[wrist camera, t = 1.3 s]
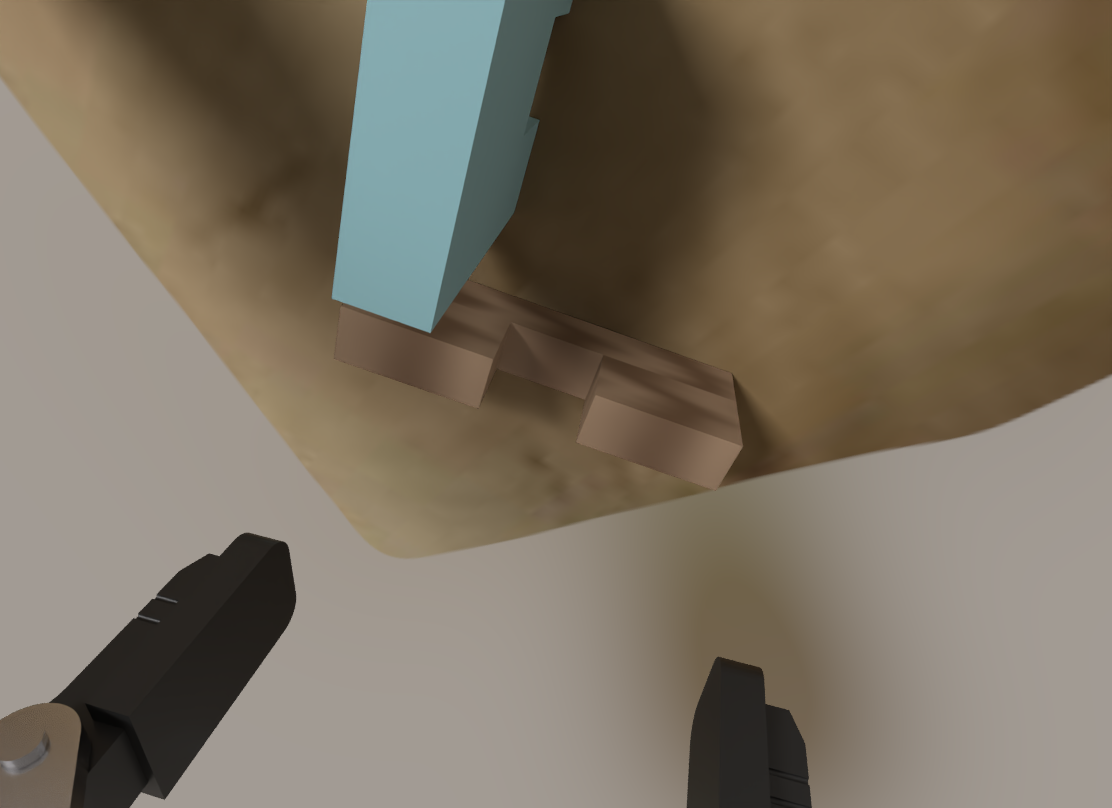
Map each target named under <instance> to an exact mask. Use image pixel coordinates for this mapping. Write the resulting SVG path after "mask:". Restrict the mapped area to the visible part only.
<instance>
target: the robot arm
mask: <svg viewBox="0 0 1112 808" xmlns="http://www.w3.org/2000/svg"><path fill="white" fill-rule="evenodd" d="M295 604H296V591H295V585H294V578H293V572H292V566H291V559H290V553H289V548H288V545H287V544H286V543H285V542H282V541H278V540H275V539H271V538H267V537H263V536H259V535H255V534H251V533H244V534H241V535H240V536H239V537H237V538H236V539H235V540H234V541H233V542H232V543H231V544H230V545H229V547H228V548H227V549H226V550H225V551H224V552H223V553H222V554H221V555H220V556H216V555H213V554H207V555H206V556H204V557H202V558H201V559H199V560H197V561H196V562H194V563H192V564H190V565H189V566H187V567H186V568H184V569H182V570H181V571H179V572H178V573H177V574H176V575H175V576H174V577H173V578H172V579H171V580H170V581H169V582H168V583H167V584H166V585H165V586H164V587H163V588H162V590H160V592H159V593H158V594H157V597H156V598H155V599H152V600H151V601H150V602H149V603H148V604H147V605H146V606H145V607H144V608H143V609H142V610H141V611H140V612H139V613H138V617H137V618H136V619H134V618H133V619H132V621H131V622H129V624H128V625H127V626H126V627H125V628H124V629H123V630H122V631H121V632H120V633H119V634H118V635H117V636H116V637H115V638H114V639H113V640H112V641H111V642H110V643H109V644H108V645H107V646H106V647H105V648H104V649H103V651H101V652H100V654H98V656H97V657H96V658H95V659H94V660H93V661H92V662H91V663H90V664H89V665H88V666H87V667H86V668H85V669H84V670H83V671H82V672H81V673H80V674H79V675H78V676H77V677H76V678H75V679H74V680H73V681H72V682H71V683H70V684H69V686H68V687H67V688H66V689H64V690H63V691H62V692H61V693H60V694H59V695H58V696H57V697H56V698H54V699H53V700H52V701H51V702H49V703H42V704H37V705H32V706H29V707H26V708H23V709H20V710H18V711H16V712H13V713H11V714H10V715H8V716H6V717H4V718H2V719H1V720H0V808H129V807H130V806H131V805H132V804H133V802H134V801H135V799H136V798H137V797H138V795H139V794H140V793H141V792H143V793H146V794H149V795H152V796H155V797H158V798H161V799H165V798H166V797H167V796H168V794H169V793H170V791H171V790H172V789H173V787H174V786H175V784H176V783H177V782H178V780H179V779H180V777H181V776H182V775H183V773H184V772H185V770H186V769H187V767H188V766H189V765H190V763H191V762H192V760H193V759H194V758H195V756H196V755H197V753H198V752H199V751H200V749H201V748H202V746H203V745H204V744H205V742H206V740H207V739H208V738H209V736H210V735H211V734H212V732H213V731H214V729H215V728H216V727H217V725H218V724H219V722H220V721H221V720H222V718H223V717H224V715H225V714H226V712H227V711H228V710H229V708H230V707H231V705H232V704H233V703H234V701H235V700H236V698H237V697H238V696H239V694H240V693H241V691H242V690H243V688H244V687H245V686H246V684H247V683H248V681H249V680H250V678H251V677H252V676H253V674H254V673H255V671H256V670H257V669H258V667H259V666H260V665H261V663H262V662H263V660H264V659H265V657H266V656H267V655H268V653H269V652H270V650H271V649H272V648H273V646H274V645H275V643H276V642H277V640H278V639H279V638H280V636H281V635H282V633H283V632H284V631H285V629H286V628H287V626H288V624H289V622H290V620H291V618H292V615H293V612H294V609H295ZM808 779H809V776H808V767H807V757H806V748H805V743H804V740H803V738H802V736H801V734H800V732H799V730H798V728H797V726H796V724H795V722H794V719H793V717H792V715H791V713H790V711H789V710H786V709H782V708H778V707H774V706H771V705H767V704H765V688H764V675H763V671H762V669H761V668H759V667H756V666H752V665H748V664H744V663H740V662H736V661H733V660H729V659H725V658H721V657H717V658H716V659H715V661H714V664H713V666H712V669H711V671H710V674H709V676H708V679H707V682H706V684H705V687H704V689H703V692H702V695H701V697H700V699H699V702H698V705H697V708H696V711H695V715H694V720H693V725H692V731H691V740H690V758H689V775H688V794H687V808H812V806H811V796H810V787H809V785H808Z"/></svg>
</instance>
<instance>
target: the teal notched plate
mask: <svg viewBox="0 0 1112 808" xmlns="http://www.w3.org/2000/svg"><path fill="white" fill-rule="evenodd" d="M572 1H573V0H367V7H366V16H365V24H364V32H363V41H362V49H361V57H360V66H359V74H358V82H357V91H356V99H355V108H354V116H353V124H352V133H351V141H350V149H349V158H348V166H347V174H346V183H345V191H344V199H343V208H342V216H341V224H340V233H339V241H338V249H337V258H336V266H335V275H334V283H333V291H332V299H334V300H337V301H340V302H343V303H346V304H349V305H352V306H354V307H357V308H360V309H363V310H366V311H369V312H372V313H375V314H377V315H380V316H383V317H386V318H389V319H392V320H395V321H397V322H400V323H403V324H406V325H409V326H412V327H415V328H417V329H420V330H423V331H426V332H429V333H431V332H432V330H433V329H434V327H435V326H436V324H437V323H438V321H439V320H440V319H441V317H442V316H443V314H444V313H445V311H446V310H447V309H448V307H449V306H450V304H451V303H452V301H453V300H454V298H455V297H456V296H457V294H458V293H459V291H460V290H461V288H462V287H463V285H464V284H465V283H466V281H467V280H468V278H469V277H470V275H471V274H472V273H473V271H474V270H475V268H476V267H477V265H478V264H479V262H480V261H481V260H482V258H483V257H484V255H485V254H486V252H487V251H488V250H489V248H490V247H491V245H492V244H493V242H494V241H495V239H496V238H497V237H498V235H499V234H500V232H501V231H502V229H503V228H504V227H505V225H506V224H507V222H508V221H509V219H510V218H511V216H512V215H513V214H514V211H515V208H516V204H517V200H518V197H519V193H520V190H521V186H522V182H523V179H524V175H525V171H526V168H527V164H528V161H529V157H530V153H531V150H532V146H533V142H534V139H535V135H536V132H537V128H538V124H539V121H540V120H538V119H535V118H532V117H530V116H529V115H530V111H531V107H532V103H533V99H534V96H535V92H536V88H537V84H538V81H539V77H540V73H541V69H542V66H543V62H544V58H545V54H546V51H547V47H548V43H549V39H550V36H551V32H552V28H553V24H554V21H555V17H558V16H561V15H565V14H568V13H569V12H570V8H571V5H572Z"/></svg>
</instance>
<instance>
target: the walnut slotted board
mask: <svg viewBox="0 0 1112 808" xmlns="http://www.w3.org/2000/svg"><path fill="white" fill-rule="evenodd" d="M334 359H336V360H339V361H342V362H344V363H347V364H350V365H353V366H356V367H359V368H362V369H365V370H368V371H371V372H373V373H376V374H379V375H382V376H385V377H388V378H391V379H394V380H397V381H399V382H402V383H405V384H408V385H411V386H414V387H417V388H420V389H423V390H425V391H428V392H431V393H434V394H437V395H440V396H443V397H446V398H449V399H452V400H454V401H457V402H460V403H463V404H466V405H469V406H472V407H475V408H478V409H479V407H480V404H481V402H482V400H483V398H484V396H485V393H486V391H487V389H488V387H489V385H490V383H491V380H492V378H493V376H494V374H495V372H496V369H498V370H501V371H504V372H507V373H510V374H513V375H515V376H518V377H521V378H524V379H527V380H530V381H533V382H535V383H538V384H541V385H544V386H547V387H550V388H553V389H556V390H558V391H561V392H564V393H567V394H570V395H573V396H576V397H578V398H581V399H584V400H585V402H584V406H583V411H582V416H581V421H580V425H579V430H578V435H577V439H576V443H579V444H582V445H585V446H588V447H590V448H593V449H596V450H599V451H602V452H605V453H608V454H611V455H614V456H616V457H619V458H622V459H625V460H628V461H631V462H634V463H637V464H640V465H643V466H645V467H648V468H651V469H654V470H657V471H660V472H663V473H666V474H669V475H671V476H674V477H677V478H680V479H683V480H686V481H689V482H692V483H695V484H697V485H700V486H703V487H706V488H709V489H712V490H715V491H716V490H717V488H718V486H719V485H720V483H721V482H722V480H723V478H724V477H725V475H726V473H727V472H728V470H729V469H730V467H731V465H732V464H733V462H734V460H735V459H736V457H737V455H738V454H739V452H740V451H741V449H742V447H743V443H742V437H741V430H740V423H739V417H738V410H737V403H736V397H735V390H734V384H733V377H732V373H729V372H727V371H724V370H721V369H718V368H715V367H712V366H710V365H707V364H704V363H701V362H698V361H696V360H693V359H690V358H687V357H684V356H681V355H679V354H676V353H673V352H670V351H667V350H664V349H662V348H659V347H656V346H653V345H650V344H648V343H645V342H642V341H639V340H636V339H633V338H631V337H628V336H625V335H622V334H619V333H616V332H614V331H611V330H608V329H605V328H602V327H599V326H597V325H594V324H591V323H588V322H585V321H583V320H580V319H577V318H574V317H571V316H568V315H566V314H563V313H560V312H557V311H554V310H551V309H549V308H546V307H543V306H540V305H537V304H535V303H532V302H529V301H526V300H523V299H520V298H518V297H515V296H512V295H509V294H506V293H503V292H501V291H498V290H495V289H492V288H489V287H487V286H484V285H481V284H478V283H475V282H472V281H470V280H467V281H466V283H465V284H464V285H463V287H462V288H461V290H460V291H459V293H458V294H457V296H456V297H455V298H454V300H453V301H452V303H451V304H450V306H449V307H448V309H447V310H446V311H445V313H444V314H443V316H442V317H441V319H440V320H439V321H438V323H437V324H436V326H435V327H434V329H433V330H432V332H431V333H429V332H426V331H423V330H420V329H417V328H415V327H412V326H409V325H406V324H403V323H400V322H397V321H395V320H392V319H389V318H386V317H383V316H380V315H377V314H375V313H372V312H369V311H366V310H363V309H360V308H357V307H354V306H352V305H349V304H346V303H343V304H342V305H341V308H340V316H339V323H338V331H337V339H336V346H335V354H334Z"/></svg>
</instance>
